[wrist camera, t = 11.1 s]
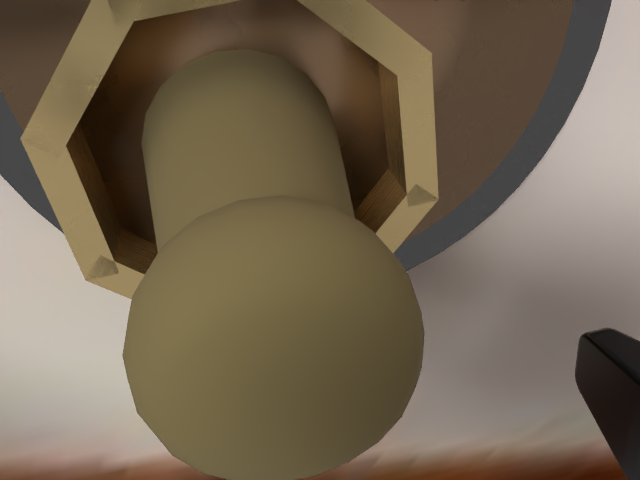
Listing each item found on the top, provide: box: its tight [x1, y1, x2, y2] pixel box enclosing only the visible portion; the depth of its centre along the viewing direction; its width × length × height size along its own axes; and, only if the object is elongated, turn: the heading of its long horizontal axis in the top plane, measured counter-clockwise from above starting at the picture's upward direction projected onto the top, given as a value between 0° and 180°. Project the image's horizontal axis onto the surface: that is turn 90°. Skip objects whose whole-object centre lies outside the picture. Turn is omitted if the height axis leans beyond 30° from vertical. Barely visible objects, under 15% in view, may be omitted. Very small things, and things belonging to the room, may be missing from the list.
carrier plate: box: [0, 0, 611, 299], centre depth 16 cm, size 20×20×4 cm
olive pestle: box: [123, 49, 424, 480], centre depth 13 cm, size 6×6×11 cm
